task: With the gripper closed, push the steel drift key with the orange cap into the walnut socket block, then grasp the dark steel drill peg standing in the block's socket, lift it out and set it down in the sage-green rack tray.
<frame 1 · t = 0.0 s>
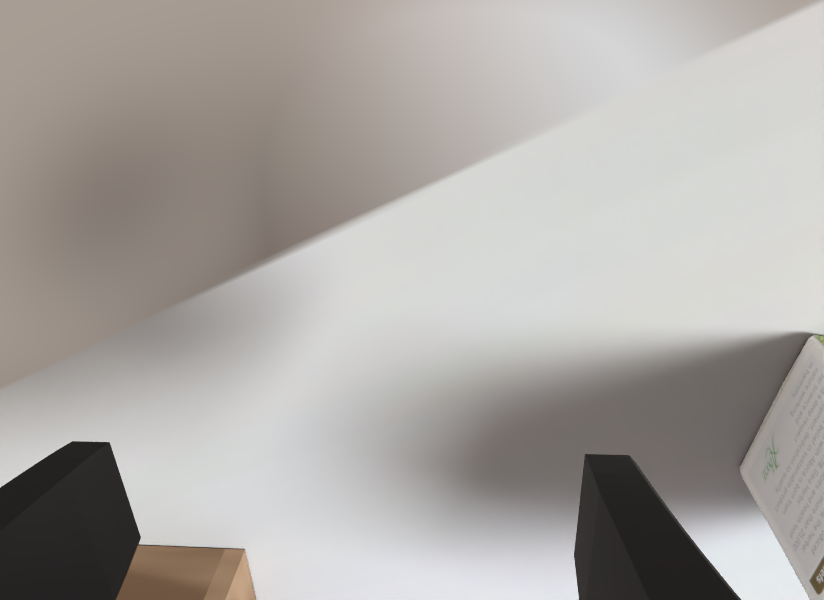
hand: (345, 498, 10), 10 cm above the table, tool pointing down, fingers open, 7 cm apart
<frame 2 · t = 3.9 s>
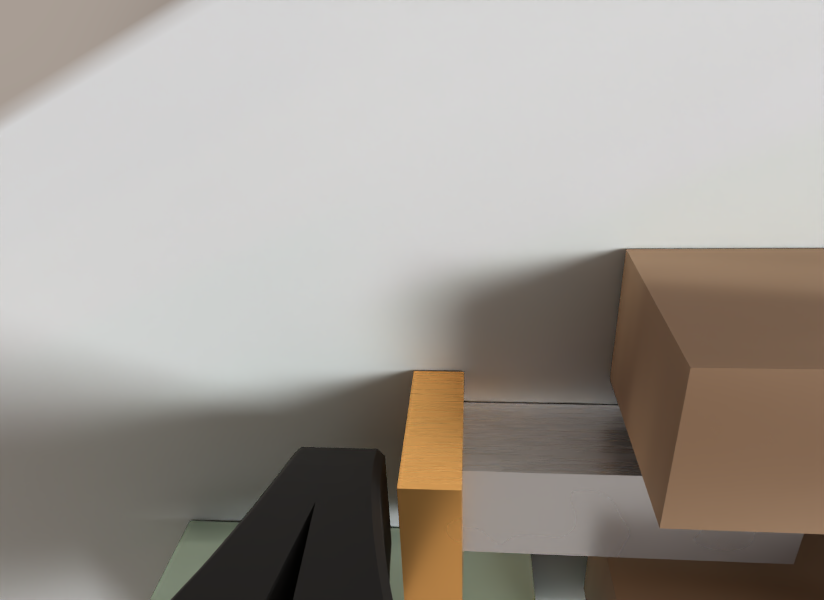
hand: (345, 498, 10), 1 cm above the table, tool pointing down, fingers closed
drift key: (598, 501, 9), point 1 cm above the table, slide at 0.8 cm, touching gripper
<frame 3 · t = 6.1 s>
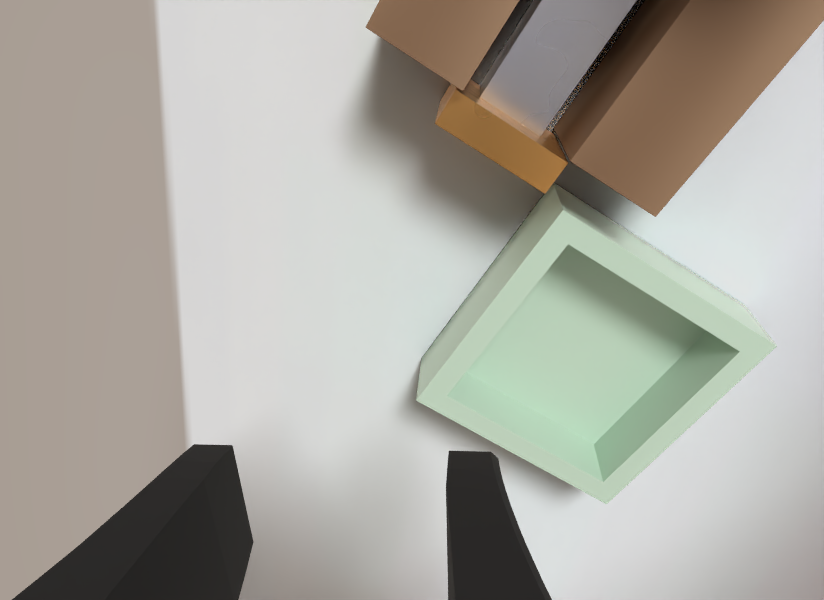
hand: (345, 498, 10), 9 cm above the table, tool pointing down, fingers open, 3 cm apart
drift key: (565, 31, 13), point 1 cm above the table, slide at 3.0 cm
rack tray: (575, 333, 18), on the table
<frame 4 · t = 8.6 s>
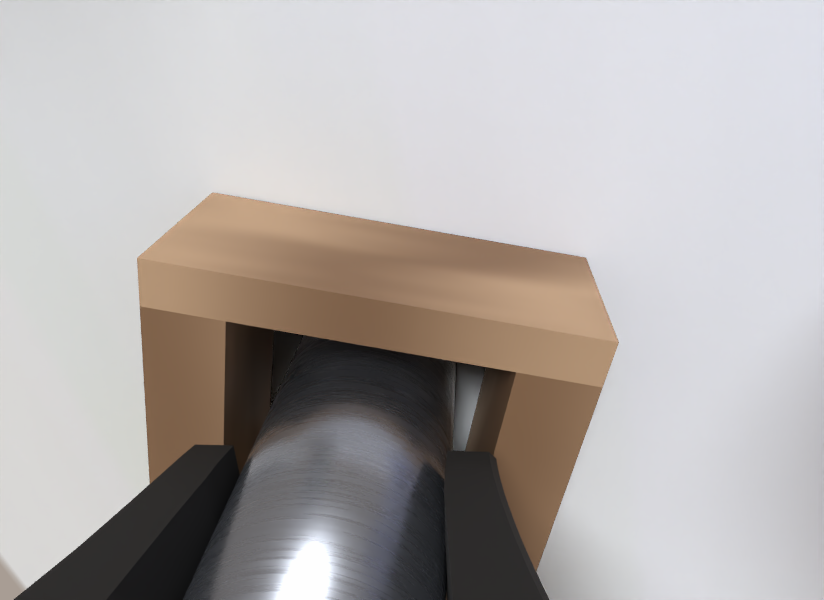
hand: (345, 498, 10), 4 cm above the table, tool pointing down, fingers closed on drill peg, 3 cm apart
socket block: (364, 451, 14), on the table
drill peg: (378, 358, 13), resting in socket block, touching gripper
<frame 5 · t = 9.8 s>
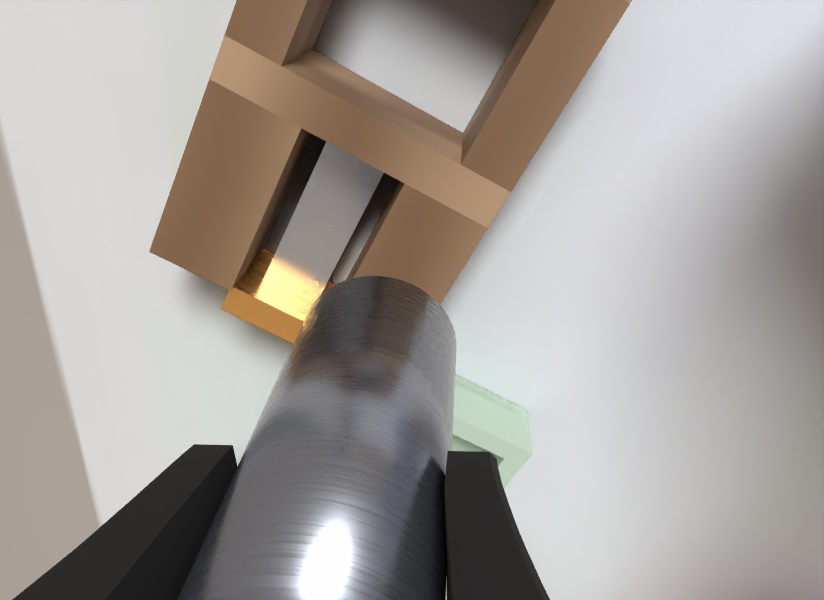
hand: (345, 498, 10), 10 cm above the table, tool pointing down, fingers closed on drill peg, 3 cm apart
socket block: (384, 102, 17), on the table
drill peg: (378, 344, 13), point 6 cm above the table, touching gripper
drift key: (320, 230, 17), point 1 cm above the table, slide at 3.0 cm
rack tray: (396, 435, 22), on the table
when the fingers open (5 cm above the table, at t = 11.4 s): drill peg stays where it is, resting on rack tray.
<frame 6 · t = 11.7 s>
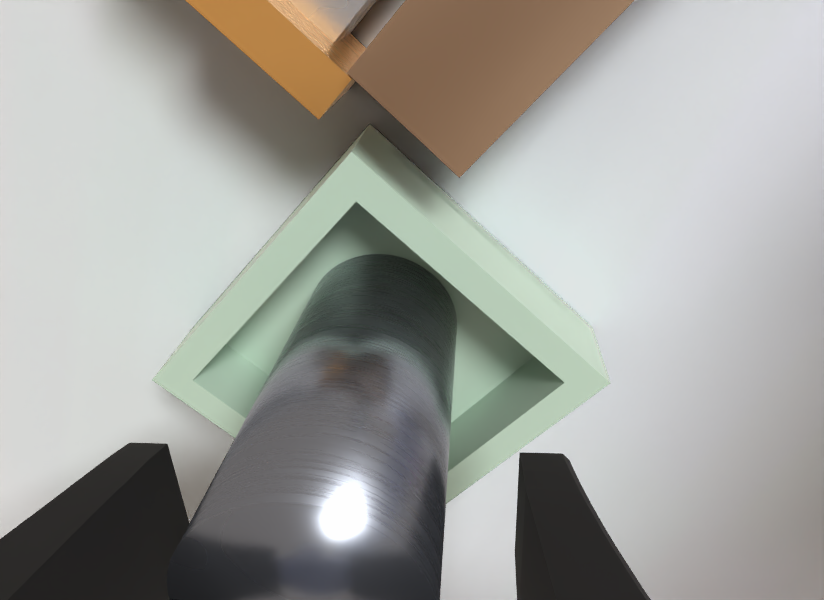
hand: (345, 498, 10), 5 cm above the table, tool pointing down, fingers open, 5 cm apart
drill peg: (382, 323, 14), point 1 cm above the table, touching rack tray
rack tray: (386, 327, 14), on the table
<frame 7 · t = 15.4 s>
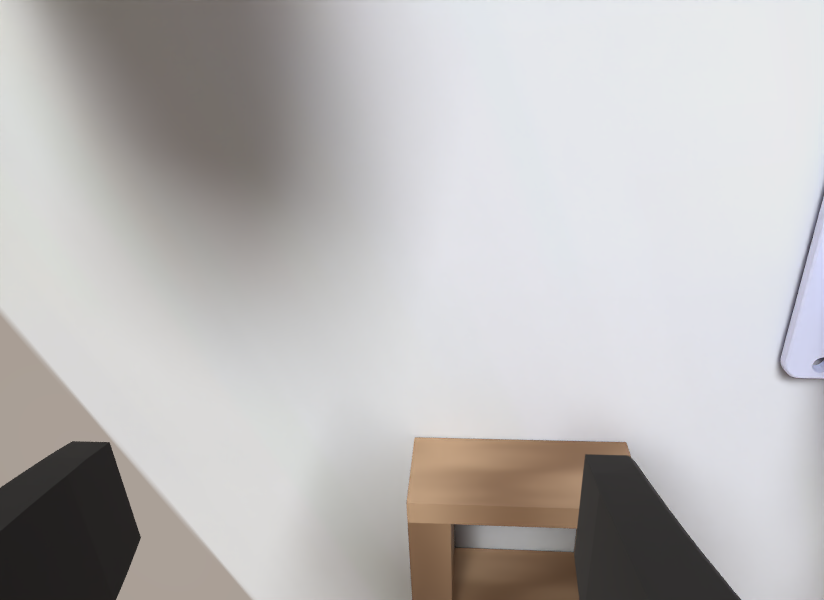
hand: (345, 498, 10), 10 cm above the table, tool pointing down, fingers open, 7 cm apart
socket block: (513, 555, 24), on the table
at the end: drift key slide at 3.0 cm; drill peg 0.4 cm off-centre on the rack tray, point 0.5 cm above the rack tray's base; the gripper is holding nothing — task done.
